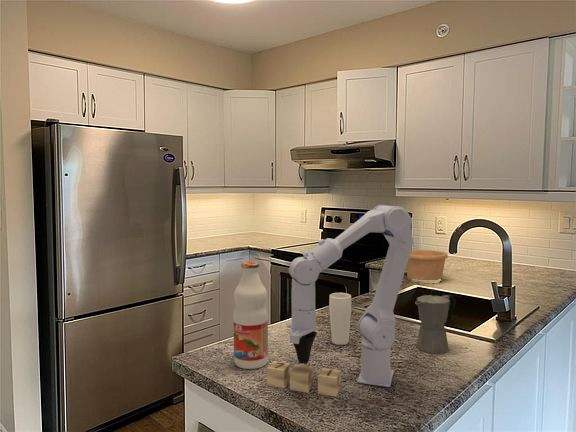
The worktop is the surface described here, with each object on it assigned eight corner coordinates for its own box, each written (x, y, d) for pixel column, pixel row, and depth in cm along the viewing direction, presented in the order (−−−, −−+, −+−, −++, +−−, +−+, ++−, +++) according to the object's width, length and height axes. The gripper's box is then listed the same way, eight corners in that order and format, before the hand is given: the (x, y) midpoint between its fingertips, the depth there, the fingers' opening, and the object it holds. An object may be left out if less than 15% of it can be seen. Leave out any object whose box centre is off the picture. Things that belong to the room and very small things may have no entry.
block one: (322, 385, 107) (322, 367, 106) (340, 388, 105) (340, 370, 105) (317, 394, 102) (317, 375, 102) (336, 397, 101) (336, 377, 101)
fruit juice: (275, 363, 120) (274, 262, 118) (248, 373, 114) (247, 267, 112) (253, 353, 127) (252, 258, 125) (227, 362, 121) (225, 262, 119)
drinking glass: (324, 342, 135) (324, 295, 134) (337, 337, 140) (338, 291, 139) (342, 348, 131) (342, 299, 130) (355, 342, 136) (355, 295, 134)
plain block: (295, 382, 109) (295, 364, 108) (313, 384, 107) (313, 367, 107) (289, 390, 104) (289, 371, 104) (307, 393, 103) (307, 374, 103)
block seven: (273, 378, 111) (273, 360, 111) (290, 380, 109) (290, 363, 109) (266, 385, 107) (266, 367, 106) (284, 388, 105) (283, 370, 105)
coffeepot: (426, 357, 123) (427, 295, 122) (404, 346, 132) (405, 288, 131) (466, 349, 130) (467, 289, 129) (442, 338, 138) (444, 283, 137)
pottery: (445, 277, 230) (445, 250, 229) (448, 286, 209) (449, 257, 208) (403, 275, 236) (403, 249, 235) (401, 284, 215) (402, 255, 214)
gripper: (297, 298, 113) (297, 349, 114) (277, 314, 99) (277, 372, 100) (323, 300, 110) (323, 353, 111) (306, 317, 97) (307, 376, 98)
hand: (303, 362), depth 105 cm, fingers closed
